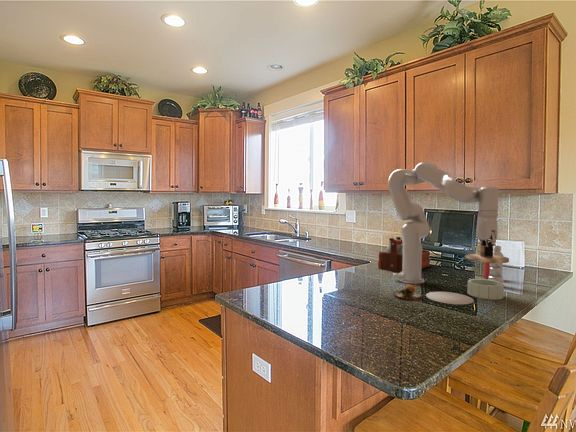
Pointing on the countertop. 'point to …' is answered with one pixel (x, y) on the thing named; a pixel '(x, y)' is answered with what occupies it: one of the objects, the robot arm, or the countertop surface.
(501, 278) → the plastic bottle
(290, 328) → the countertop surface
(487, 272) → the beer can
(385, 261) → the milk bottle holder
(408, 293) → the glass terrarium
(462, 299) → the pad
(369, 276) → the countertop surface
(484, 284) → the bowl
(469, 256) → the lid
